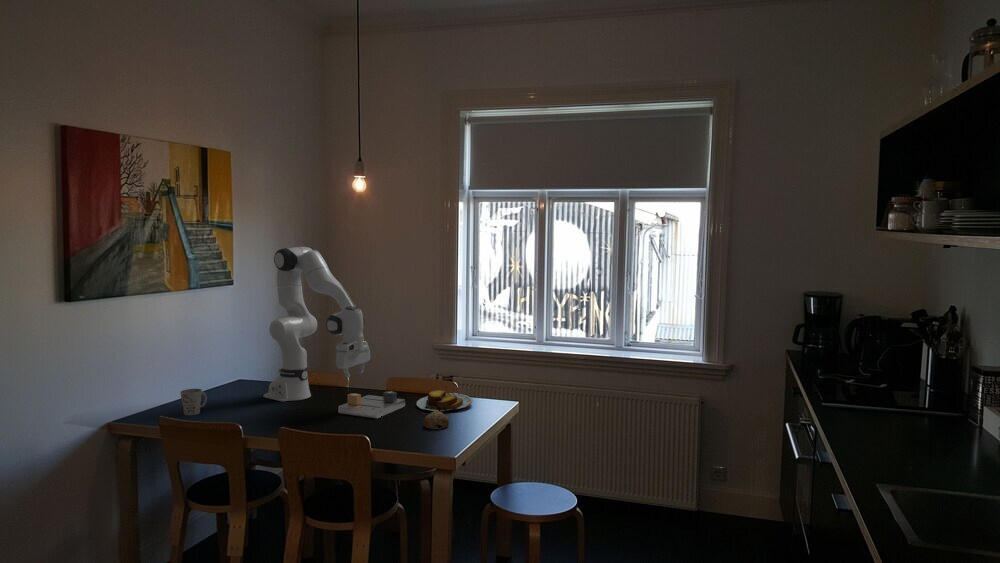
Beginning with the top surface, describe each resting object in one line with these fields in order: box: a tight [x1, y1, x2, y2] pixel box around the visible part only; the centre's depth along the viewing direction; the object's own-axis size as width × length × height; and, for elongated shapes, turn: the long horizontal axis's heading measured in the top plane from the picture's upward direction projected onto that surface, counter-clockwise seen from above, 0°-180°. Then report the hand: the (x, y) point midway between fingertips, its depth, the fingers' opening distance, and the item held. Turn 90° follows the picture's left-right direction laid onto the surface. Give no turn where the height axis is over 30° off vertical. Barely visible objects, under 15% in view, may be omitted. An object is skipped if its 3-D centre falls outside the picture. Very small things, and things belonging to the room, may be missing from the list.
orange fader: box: [347, 393, 362, 405], centre depth 291 cm, size 5×3×4 cm, turn 66°
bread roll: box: [423, 411, 450, 430], centre depth 269 cm, size 10×10×8 cm
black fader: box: [382, 390, 398, 403], centre depth 295 cm, size 5×3×4 cm, turn 66°
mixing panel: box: [337, 394, 406, 419], centre depth 294 cm, size 20×22×3 cm
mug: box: [180, 388, 208, 416], centre depth 288 cm, size 8×13×10 cm, turn 160°
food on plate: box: [416, 389, 473, 412], centre depth 300 cm, size 25×25×7 cm
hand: (354, 375), depth 290 cm, fingers open, 8 cm apart
